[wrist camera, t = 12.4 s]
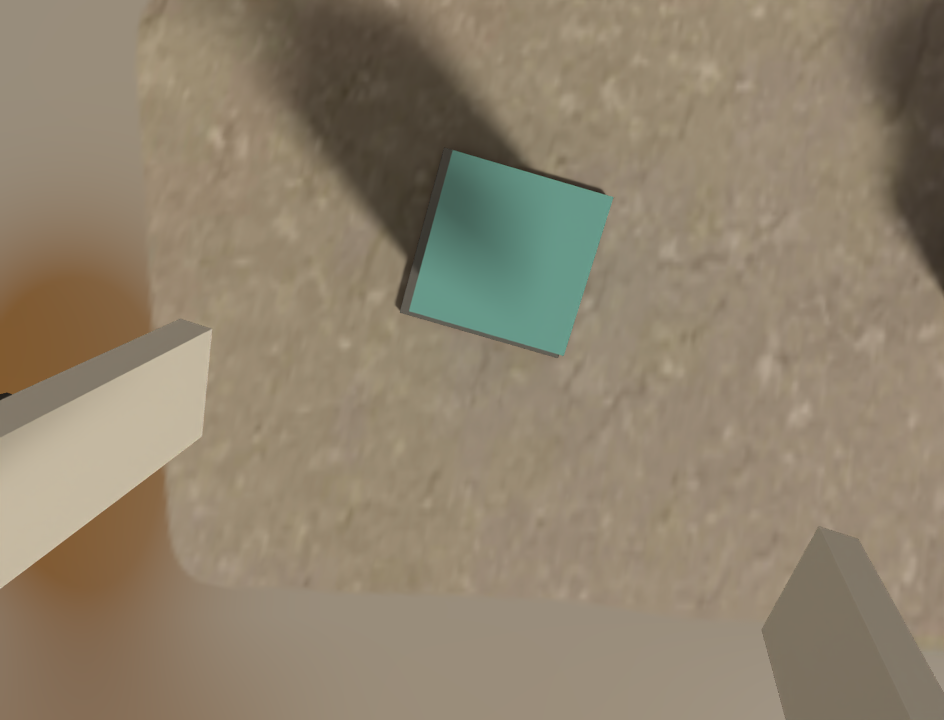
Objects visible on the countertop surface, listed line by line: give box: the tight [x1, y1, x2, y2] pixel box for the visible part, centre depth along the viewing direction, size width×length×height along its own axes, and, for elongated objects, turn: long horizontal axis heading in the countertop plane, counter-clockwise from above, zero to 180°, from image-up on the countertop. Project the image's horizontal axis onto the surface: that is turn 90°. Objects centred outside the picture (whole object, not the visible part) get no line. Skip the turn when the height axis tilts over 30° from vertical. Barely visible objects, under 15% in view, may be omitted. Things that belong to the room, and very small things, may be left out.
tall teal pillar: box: [409, 150, 613, 356], centre depth 26 cm, size 5×5×11 cm
